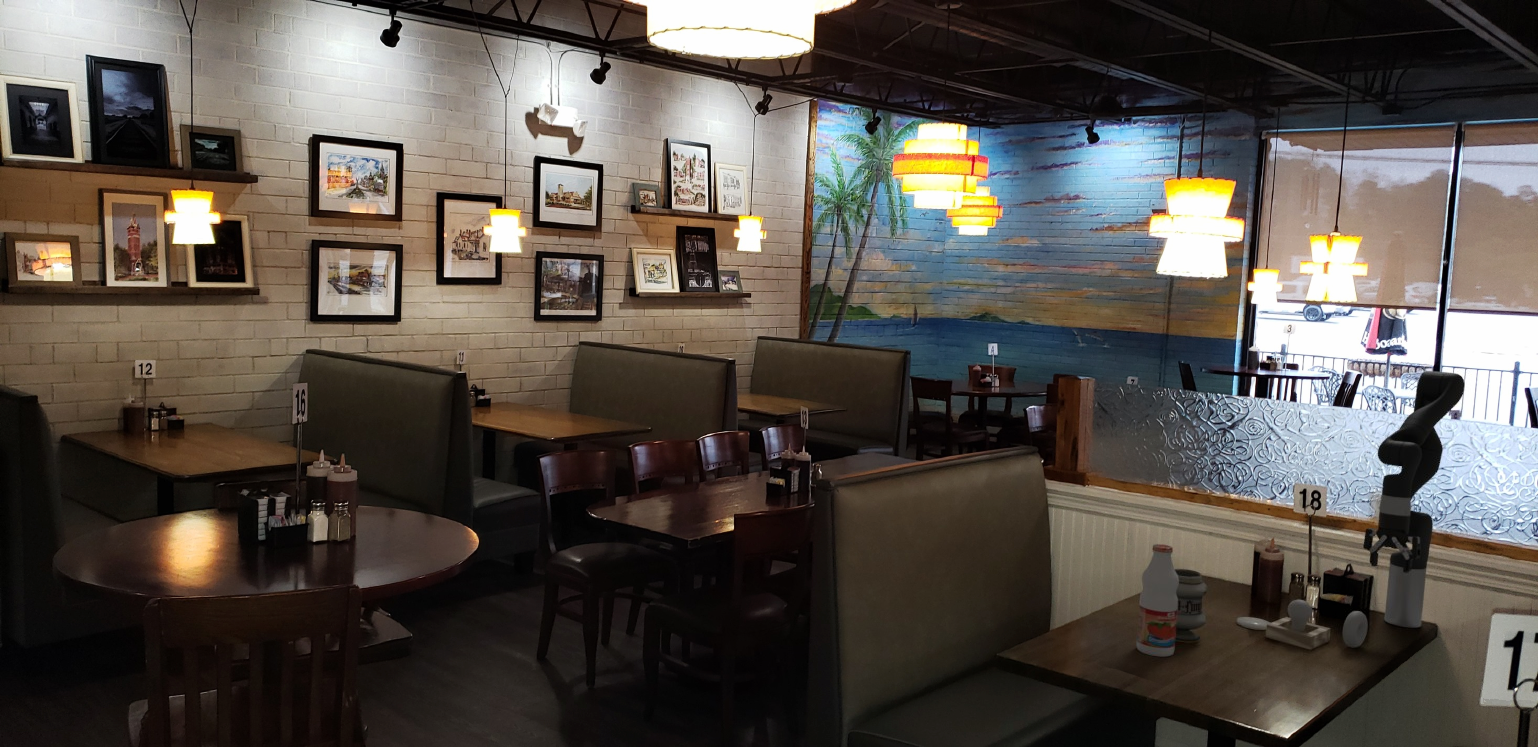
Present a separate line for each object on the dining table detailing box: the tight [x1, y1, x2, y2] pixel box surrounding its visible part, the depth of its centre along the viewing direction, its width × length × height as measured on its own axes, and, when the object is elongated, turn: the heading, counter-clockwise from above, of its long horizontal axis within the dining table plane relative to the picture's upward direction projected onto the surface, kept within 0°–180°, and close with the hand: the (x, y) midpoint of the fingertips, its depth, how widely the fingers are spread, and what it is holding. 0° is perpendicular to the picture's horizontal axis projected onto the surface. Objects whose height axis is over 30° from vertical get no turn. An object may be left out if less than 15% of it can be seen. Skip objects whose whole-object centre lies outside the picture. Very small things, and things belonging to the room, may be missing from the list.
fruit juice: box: [1136, 543, 1179, 658], centre depth 279 cm, size 9×9×28 cm
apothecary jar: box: [1174, 568, 1209, 644], centre depth 292 cm, size 12×12×18 cm
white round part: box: [1236, 616, 1271, 631], centre depth 305 cm, size 9×9×1 cm
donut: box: [1342, 610, 1369, 649], centre depth 289 cm, size 10×4×10 cm, turn 129°
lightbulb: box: [1287, 599, 1313, 632], centre depth 294 cm, size 6×6×11 cm
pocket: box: [1265, 616, 1331, 651], centre depth 294 cm, size 12×12×4 cm
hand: (1389, 569), depth 301 cm, fingers open, 8 cm apart
